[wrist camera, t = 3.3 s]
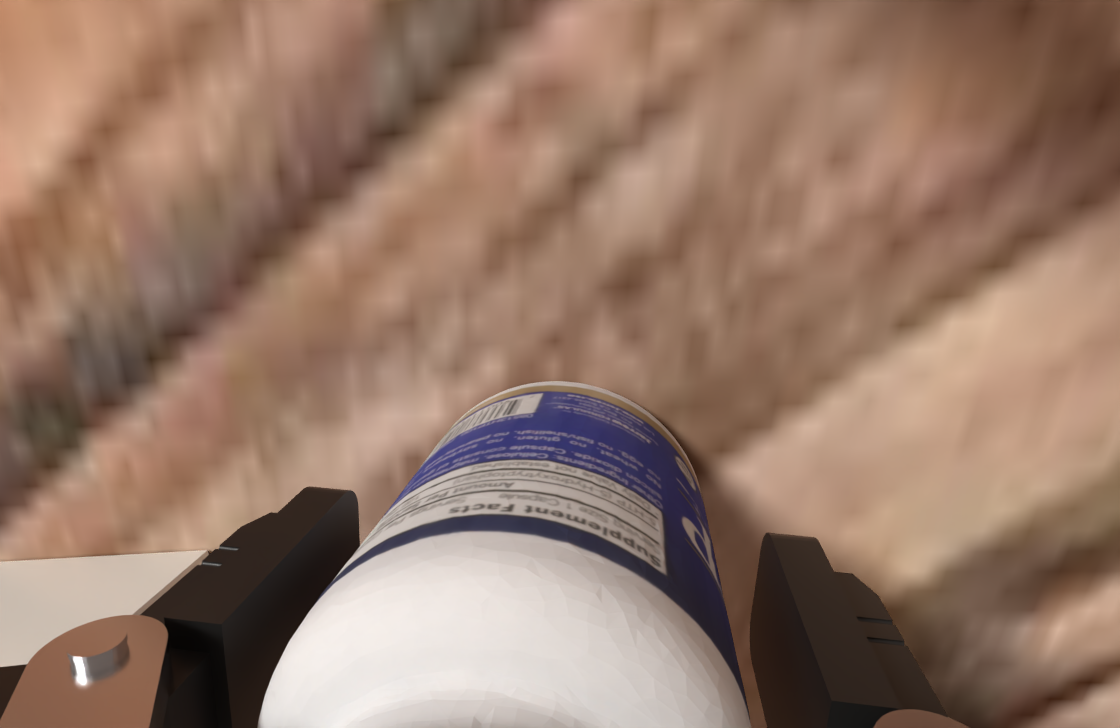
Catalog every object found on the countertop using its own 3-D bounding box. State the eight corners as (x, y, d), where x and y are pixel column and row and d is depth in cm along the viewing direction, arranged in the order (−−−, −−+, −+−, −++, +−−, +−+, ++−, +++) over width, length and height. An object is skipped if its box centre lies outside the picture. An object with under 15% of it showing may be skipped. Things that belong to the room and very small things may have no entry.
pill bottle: (684, 642, 13) (767, 1480, 5) (426, 607, 14) (76, 1313, 5) (722, 388, 12) (941, 935, 3) (431, 357, 12) (-42, 766, 4)
